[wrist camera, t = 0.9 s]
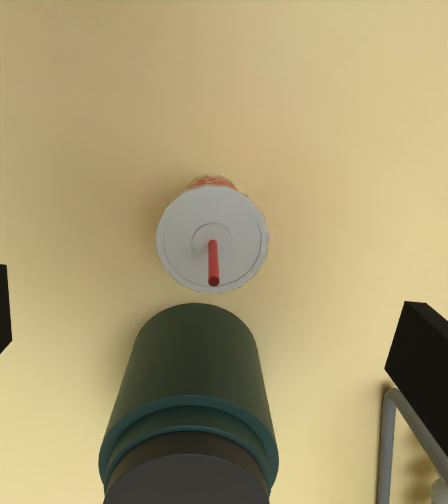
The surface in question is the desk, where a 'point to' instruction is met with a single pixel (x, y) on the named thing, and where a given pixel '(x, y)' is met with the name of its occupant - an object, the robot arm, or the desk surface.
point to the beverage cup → (212, 236)
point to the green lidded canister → (191, 415)
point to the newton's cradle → (443, 489)
